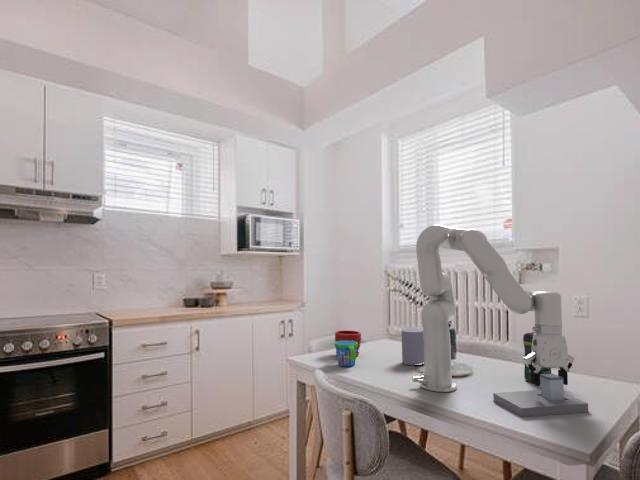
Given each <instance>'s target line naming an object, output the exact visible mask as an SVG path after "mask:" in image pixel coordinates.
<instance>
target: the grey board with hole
mask: <svg viewBox="0 0 640 480" xmlns="http://www.w3.org/2000/svg"><path fill="white" fill-rule="evenodd" d="M492 395H493V396H492V397H493V402H494V403H496V404H498V405H500V406H503V408H505V409H507V410H509V411H511V412H513V413H515V414H516V415H518V416H519V417H521V418H526V417H527V418H528V417H541V416H553V415H565V414H567V415H569V414H577V413H578V414H579V413H589V403H588V402H586V401H583V400H581V399H578V398H576V397H574V396H571V395H569V394H566V393H564V400H560V401H550V400H548V399H545V398H543V397H541V389H536V390H534V389H533V390H518V391H506V392H493V393H492Z"/></svg>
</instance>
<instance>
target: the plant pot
mask: <svg viewBox="0 0 640 480" xmlns="http://www.w3.org/2000/svg"><path fill="white" fill-rule="evenodd" d="M334 341H335V342H338V341H355V342H357V343H358V346H357V351H356V357H358V356H359V355H360V352H359V349H360V347H361V341H362V333H361V332H360V331H356V330H337V331H334ZM335 342H334V343H335ZM335 354H336V355H337V352H336V351H335Z"/></svg>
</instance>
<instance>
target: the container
mask: <svg viewBox="0 0 640 480" xmlns="http://www.w3.org/2000/svg"><path fill="white" fill-rule="evenodd" d="M401 358H402V360H401V361H402V364H404V365H405V366H410V367H415V366H414V365H415V364H419V363H423V362H424V337H423V329H421V328H403V329H401Z"/></svg>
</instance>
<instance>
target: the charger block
mask: <svg viewBox="0 0 640 480" xmlns="http://www.w3.org/2000/svg"><path fill="white" fill-rule="evenodd" d="M564 387H565V385H564V384H563V377H561V376H558V374H555V373H551V374H540V390H541V397H543V398H545V399H548V400H550V401H560V400H564V394H565V389H564Z"/></svg>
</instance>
